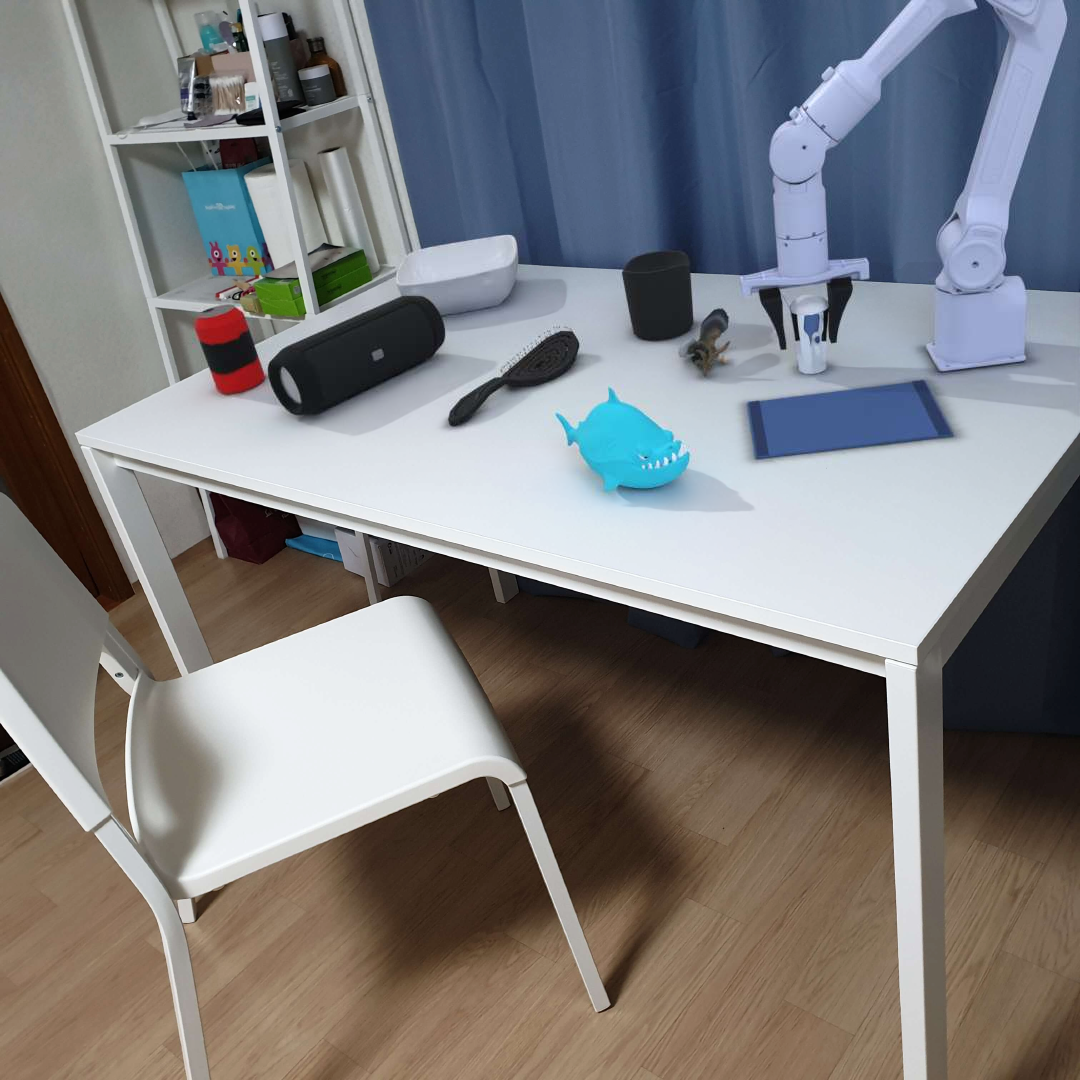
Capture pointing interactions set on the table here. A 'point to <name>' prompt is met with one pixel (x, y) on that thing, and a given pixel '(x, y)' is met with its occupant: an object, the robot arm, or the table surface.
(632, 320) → the pen holder
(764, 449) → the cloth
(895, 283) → the table surface
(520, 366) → the hairbrush
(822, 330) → the milkshake
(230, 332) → the soda can
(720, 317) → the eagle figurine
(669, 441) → the toy shark
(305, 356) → the portable speaker
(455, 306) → the bowl
